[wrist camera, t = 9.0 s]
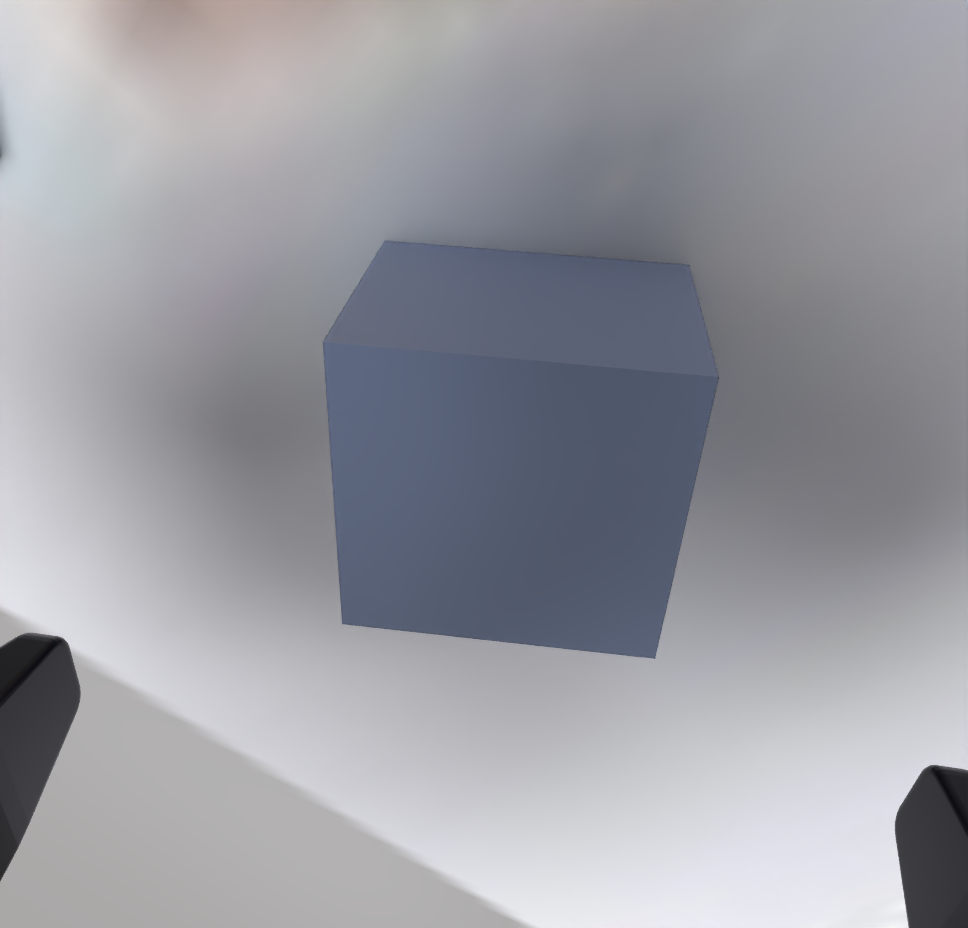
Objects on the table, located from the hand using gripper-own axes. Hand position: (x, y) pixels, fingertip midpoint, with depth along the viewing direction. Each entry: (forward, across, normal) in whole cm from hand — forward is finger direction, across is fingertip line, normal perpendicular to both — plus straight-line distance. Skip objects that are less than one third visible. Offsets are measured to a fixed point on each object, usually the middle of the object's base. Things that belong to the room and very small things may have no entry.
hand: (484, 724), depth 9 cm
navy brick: (+8, 0, 0) cm, 8 cm away
